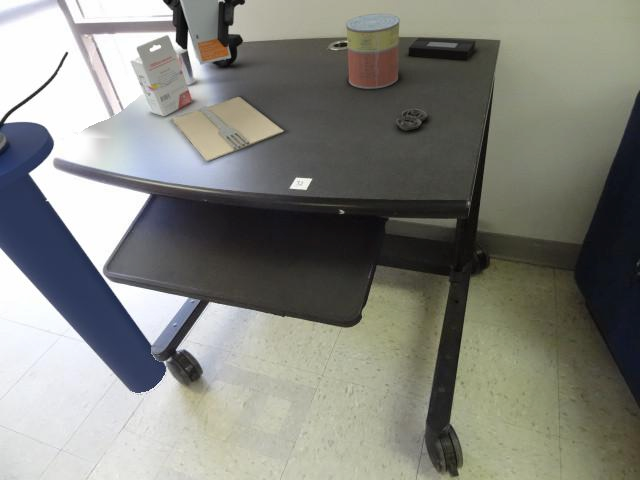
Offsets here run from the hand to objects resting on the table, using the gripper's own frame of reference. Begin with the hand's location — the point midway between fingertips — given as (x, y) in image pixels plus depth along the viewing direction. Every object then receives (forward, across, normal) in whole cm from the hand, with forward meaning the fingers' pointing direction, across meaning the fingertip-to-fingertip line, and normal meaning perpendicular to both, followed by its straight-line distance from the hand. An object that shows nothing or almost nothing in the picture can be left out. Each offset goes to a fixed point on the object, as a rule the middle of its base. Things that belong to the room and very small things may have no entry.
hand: (201, 44), depth 70 cm
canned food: (-4, -28, -28) cm, 40 cm away
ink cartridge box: (+4, +17, -20) cm, 26 cm away
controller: (-13, +12, -37) cm, 41 cm away
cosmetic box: (0, 0, -5) cm, 5 cm away
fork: (+11, +2, -12) cm, 16 cm away
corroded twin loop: (+11, -37, -12) cm, 40 cm away
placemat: (+11, +1, -12) cm, 16 cm away
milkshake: (-6, +19, -30) cm, 36 cm away
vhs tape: (-15, -44, -38) cm, 60 cm away
